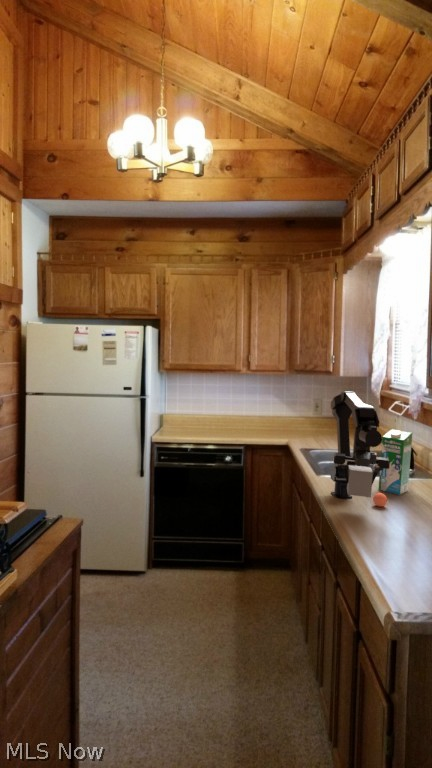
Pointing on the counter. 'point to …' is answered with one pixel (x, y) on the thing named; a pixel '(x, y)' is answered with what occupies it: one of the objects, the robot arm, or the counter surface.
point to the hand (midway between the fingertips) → (359, 484)
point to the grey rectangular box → (359, 481)
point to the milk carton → (396, 461)
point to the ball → (380, 499)
